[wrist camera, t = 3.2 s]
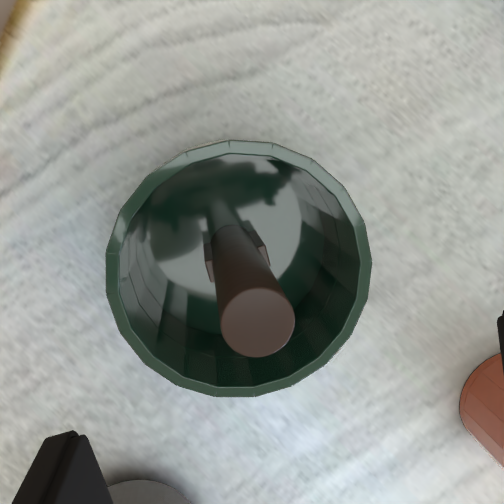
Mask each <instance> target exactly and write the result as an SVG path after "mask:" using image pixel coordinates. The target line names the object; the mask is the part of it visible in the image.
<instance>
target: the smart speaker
mask: <svg viewBox="0 0 504 504" xmlns="http://www.w3.org/2000/svg"><path fill="white" fill-rule="evenodd" d="M107 488H108V490H109V493H110V495H111V498H112V500H113V503H114V504H192V503H191V502H190V501H189V500H188V499H187V498H186V497H185V496H184V495H183V494H182V493H180V492H179V491H177V490H176V489H174V488H172V487H170V486H168V485H166V484H163V483H160V482H156V481H150V480H131V481H125V482H121V483H117V484H114V485H112V486H109V487H107Z"/></svg>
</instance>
